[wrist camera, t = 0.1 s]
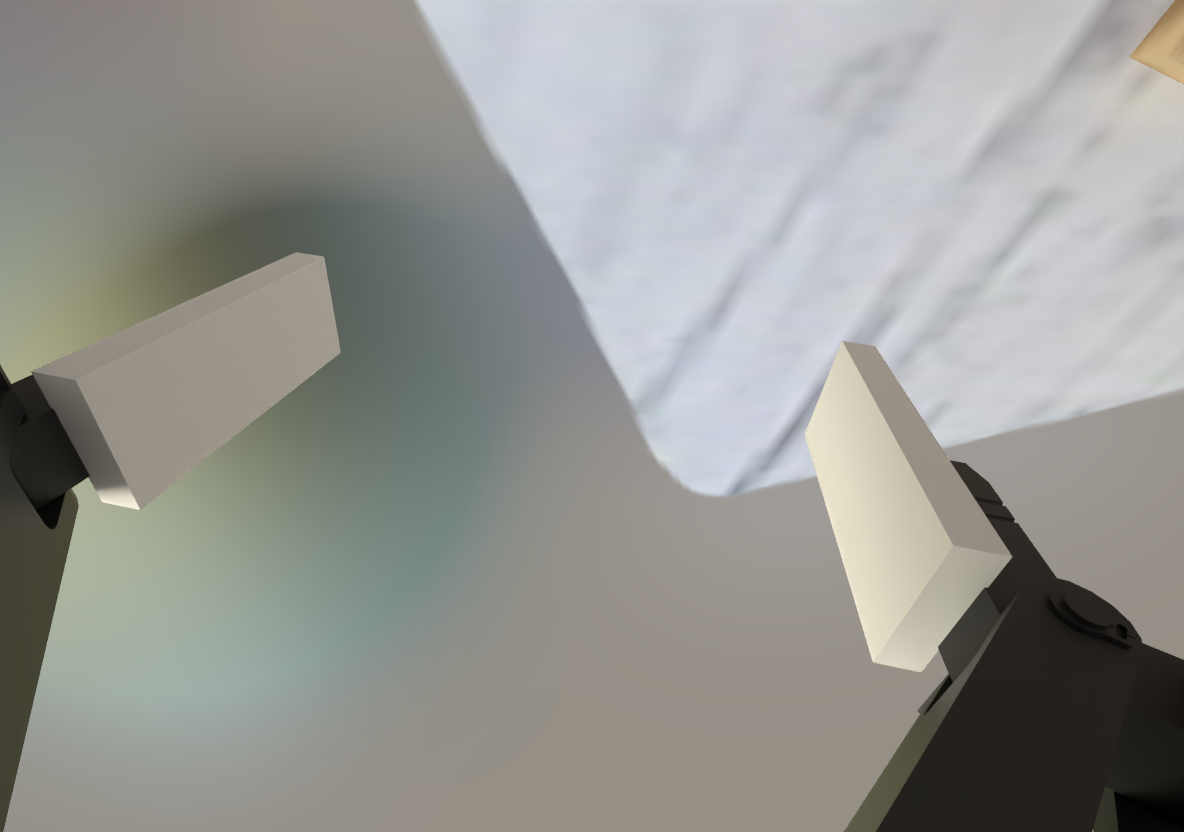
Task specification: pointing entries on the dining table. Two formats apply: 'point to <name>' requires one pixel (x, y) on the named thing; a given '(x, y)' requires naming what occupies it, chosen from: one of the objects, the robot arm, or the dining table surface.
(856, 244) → the dining table surface
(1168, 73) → the oak cube
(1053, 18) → the dining table surface
